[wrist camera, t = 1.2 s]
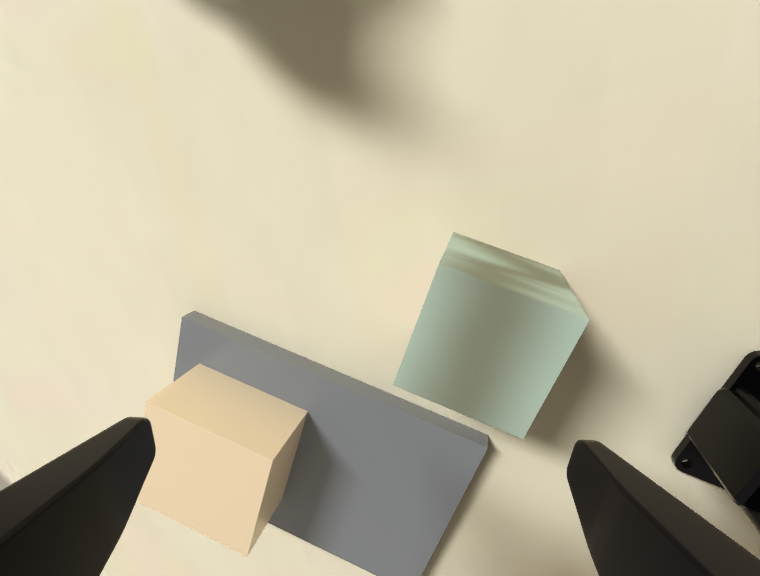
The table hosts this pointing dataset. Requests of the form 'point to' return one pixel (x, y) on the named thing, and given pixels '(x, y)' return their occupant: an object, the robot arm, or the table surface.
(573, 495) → the robot arm
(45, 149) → the table surface
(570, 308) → the sage block
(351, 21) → the table surface
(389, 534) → the build plate
